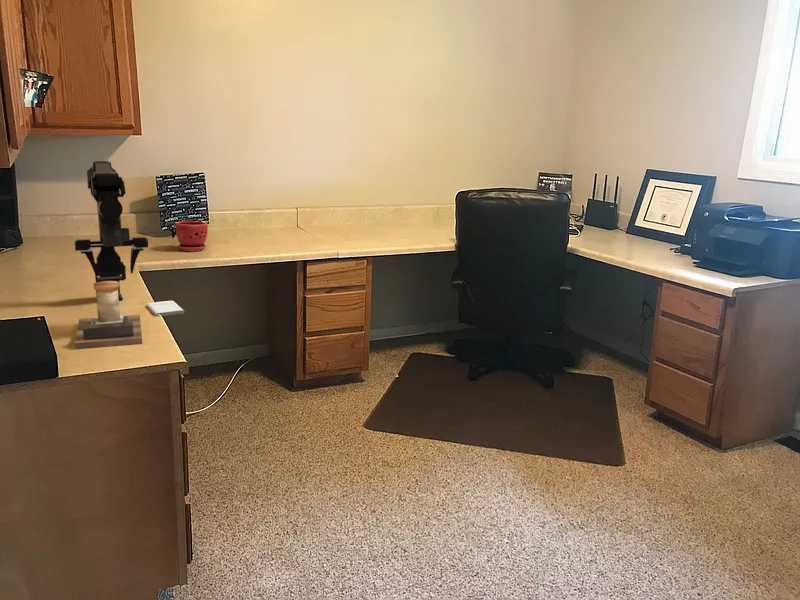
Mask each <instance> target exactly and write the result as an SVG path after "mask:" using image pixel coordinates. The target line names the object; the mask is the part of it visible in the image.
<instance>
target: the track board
mask: <svg viewBox="0 0 800 600" xmlns="http://www.w3.org/2000/svg"><path fill="white" fill-rule="evenodd" d="M124 316H125V315H123V323H124ZM127 316H128V322H133V333H134V336H128V337H115V338H102V339H89V340H84V337H83V325H90V322H91V318H92V317H89V318H87V317H86V318H78V325H77V329H76V334H75V340H74V350H75V349H77V350H78V349H90V348H91V349H92V348H101V347H112V346H113V347H115V346H124V345H125V346H127V345H139V344H143V335H142V325H141V314H134V315H133V314H132V315H130V314H129V315H127ZM94 318H95V320H96V317H94Z"/></svg>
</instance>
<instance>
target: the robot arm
mask: <svg viewBox="0 0 800 600" xmlns="http://www.w3.org/2000/svg"><path fill="white" fill-rule="evenodd" d="M111 162H112V161H109V160H95V161H93V162H92V166H91V167H90V168H89V169H88V170H87V171H86V181H87V182H86V183H87V184H86V185H87V189H89V191H90V195H91V196H92V198H93V199H94V200H95V202H96V209H97V220H98V221H97V222H98V223H97V224H98V232H99V240H93V241H92V240H91V239H90V238H79V239H77V238H76V239H75V240H74V249H75V252H76V251H79V252H80V254H82V255H83V254H84V255H85V256H86V258H87V259H88V261H89V263H90V266H91V268H92V270H93V273H94V280H95V283H96V282H101V281H117V282H119V288H118V296H119V301H123V299H124V297H123V295H122V294H121V283H120V281H122V282H123V281H126V280H127V272H126V269H127V268H126V267H127V266H126V265H125V264H124V262H123V261H122V260H121V259H122V258H121V256H120V254H119V253H118V252H117V251H116V248H117V247H131V248H130V265H129V266H130V268H129V269H130V274H133V273H134V269H135V265H136V261H137V258H138V256H139V254H140V252H143V251H144V248H149V241H148V240H149V239H148V238H147V237H145V236H132V237H131V236H130V228H129V227H122V218H121V215H122V214H123V209H124V207H123V206H122V203H121V202H120V200H119V198H124V197H125V195H126V187H125V181H124V180H123V177H122V176H120V175H119V172H118V171H117V170H116V169H115V168H114V167H112V163H111ZM130 237H131V239H130ZM115 247H116V248H115ZM92 248H94V249H95V248H96V249H97V248H100V250H99V252H98V253H97V255H96V256H95V257H94V252H93V249H92ZM95 258H96V260H95Z"/></svg>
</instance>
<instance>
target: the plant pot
mask: <svg viewBox="0 0 800 600" xmlns="http://www.w3.org/2000/svg"><path fill="white" fill-rule="evenodd" d="M208 227H209V226H208V222H204V221H198V220H197V221H195V220H194V221H193V220H190V221H189V220H188V221H177V222H176V224H175V231H176V232H175V233H176V237H177V240H178V242H179V244H178V245H177V246H178V248H179V250H181V251H184V252H188V251H190V252H200V250H201V251H203V250H205V249H206V247H207V246H206V244H205V243H206V241H207V238H208Z"/></svg>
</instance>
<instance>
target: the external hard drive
mask: <svg viewBox="0 0 800 600" xmlns="http://www.w3.org/2000/svg"><path fill="white" fill-rule="evenodd" d="M146 307H147V308H148V309H149V310H150V311H151V312H152V314H153V315H154V316H155V317H164V316H172V315H180V314H181V315H182V314H185V310H184V309H183V308H182V307H181V306H180V305H179V304H177V303H176V302H175V301H174V300H166V301H156V302H147V303H146ZM159 314H160V315H161V316H160V315H159ZM158 315H159V316H158Z"/></svg>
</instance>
